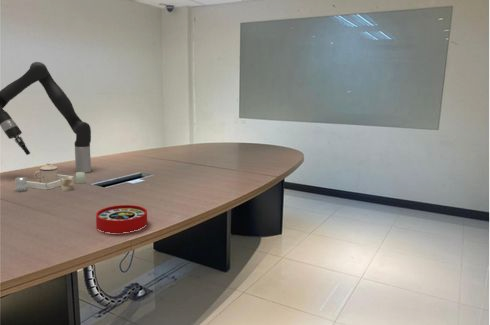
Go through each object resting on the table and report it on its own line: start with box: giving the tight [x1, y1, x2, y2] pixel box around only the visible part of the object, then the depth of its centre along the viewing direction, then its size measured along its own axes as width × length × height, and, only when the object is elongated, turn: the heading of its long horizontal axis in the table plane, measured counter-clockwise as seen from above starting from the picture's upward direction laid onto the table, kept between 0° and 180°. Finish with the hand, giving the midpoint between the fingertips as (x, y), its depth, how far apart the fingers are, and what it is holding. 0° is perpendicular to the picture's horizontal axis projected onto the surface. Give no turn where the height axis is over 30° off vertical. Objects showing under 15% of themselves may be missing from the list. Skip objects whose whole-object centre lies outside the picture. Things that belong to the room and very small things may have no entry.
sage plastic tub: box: [75, 171, 86, 185], centre depth 212 cm, size 5×5×6 cm
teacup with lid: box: [33, 162, 59, 184], centre depth 207 cm, size 12×9×12 cm
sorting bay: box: [27, 174, 76, 191], centre depth 207 cm, size 18×21×3 cm
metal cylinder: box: [14, 176, 28, 193], centre depth 191 cm, size 5×5×7 cm
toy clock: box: [95, 204, 148, 233], centre depth 149 cm, size 20×6×20 cm
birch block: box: [60, 178, 74, 192], centre depth 197 cm, size 5×5×6 cm
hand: (28, 154), depth 211 cm, fingers closed
